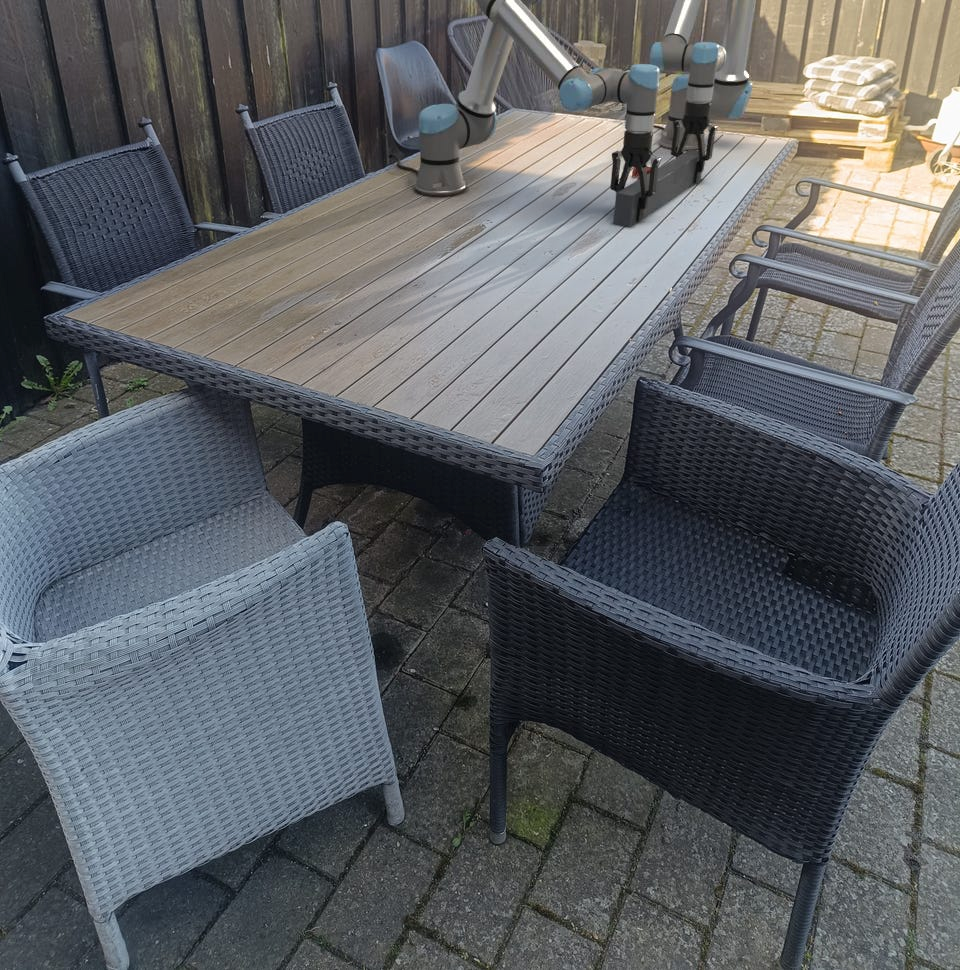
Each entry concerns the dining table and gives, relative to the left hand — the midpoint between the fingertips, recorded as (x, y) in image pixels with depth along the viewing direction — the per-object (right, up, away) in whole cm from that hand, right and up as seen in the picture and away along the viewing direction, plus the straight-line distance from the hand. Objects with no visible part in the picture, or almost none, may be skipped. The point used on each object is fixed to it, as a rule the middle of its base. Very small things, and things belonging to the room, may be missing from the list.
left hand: (629, 218), depth 235 cm
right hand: (+23, +21, +29) cm, 43 cm away
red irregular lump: (+10, +23, +33) cm, 42 cm away
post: (+12, +10, +15) cm, 22 cm away
